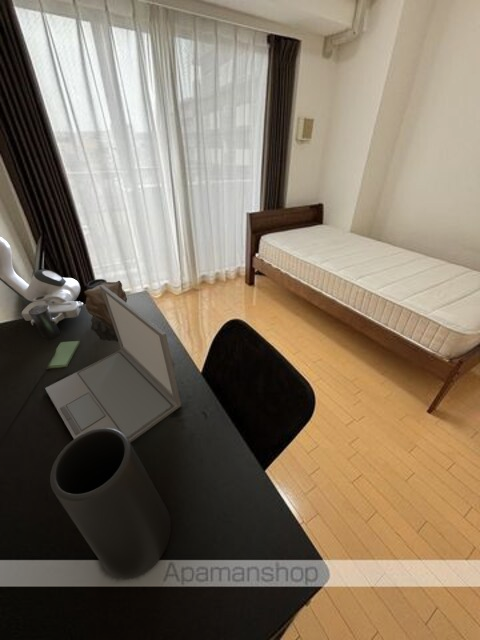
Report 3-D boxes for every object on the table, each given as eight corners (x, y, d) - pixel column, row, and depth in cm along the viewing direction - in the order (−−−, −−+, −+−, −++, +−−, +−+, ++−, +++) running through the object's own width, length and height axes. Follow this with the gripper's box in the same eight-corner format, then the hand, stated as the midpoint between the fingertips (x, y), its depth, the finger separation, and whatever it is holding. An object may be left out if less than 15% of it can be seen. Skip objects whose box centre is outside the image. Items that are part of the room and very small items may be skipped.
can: (39, 340, 108) (25, 314, 101) (46, 330, 113) (33, 305, 106) (56, 339, 109) (43, 313, 102) (63, 329, 114) (51, 304, 107)
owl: (94, 340, 108) (76, 295, 96) (110, 321, 118) (95, 277, 106) (126, 342, 107) (111, 296, 95) (139, 322, 117) (127, 279, 105)
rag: (45, 368, 96) (44, 366, 95) (61, 343, 106) (60, 342, 106) (66, 367, 96) (65, 365, 96) (80, 342, 107) (79, 340, 106)
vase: (183, 514, 60) (159, 436, 43) (141, 595, 50) (88, 534, 33) (133, 487, 65) (93, 407, 48) (84, 556, 54) (12, 486, 38)
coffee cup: (92, 318, 120) (80, 287, 111) (104, 307, 126) (94, 277, 118) (110, 320, 118) (99, 289, 109) (121, 310, 125) (112, 279, 116)
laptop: (46, 391, 88) (2, 319, 72) (125, 350, 103) (103, 284, 87) (92, 470, 68) (45, 396, 52) (182, 405, 83) (166, 332, 67)
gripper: (87, 307, 120) (75, 327, 109) (36, 311, 119) (19, 331, 107) (82, 295, 117) (69, 314, 105) (29, 298, 115) (11, 317, 104)
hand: (43, 322), depth 106 cm, fingers closed on can, 6 cm apart
